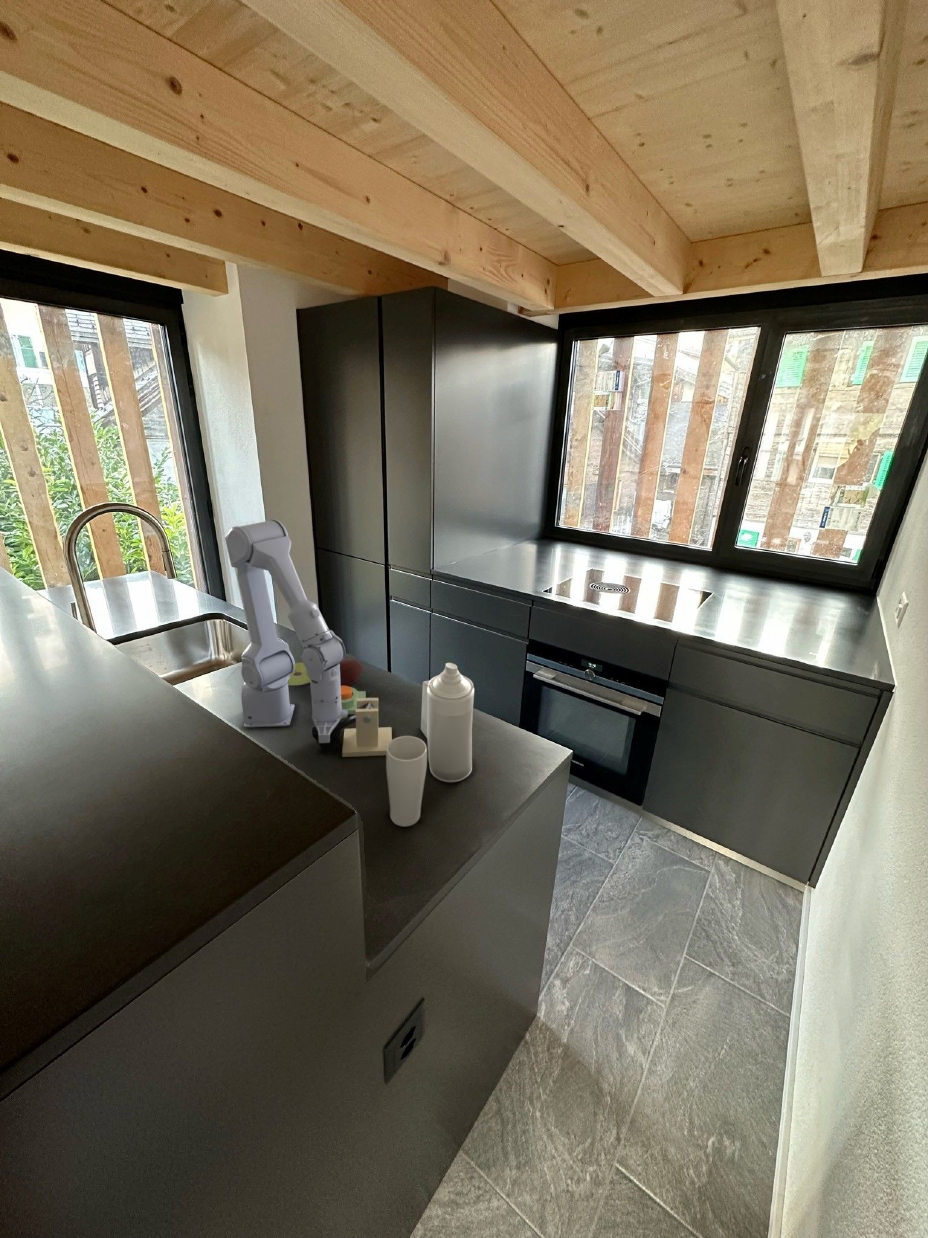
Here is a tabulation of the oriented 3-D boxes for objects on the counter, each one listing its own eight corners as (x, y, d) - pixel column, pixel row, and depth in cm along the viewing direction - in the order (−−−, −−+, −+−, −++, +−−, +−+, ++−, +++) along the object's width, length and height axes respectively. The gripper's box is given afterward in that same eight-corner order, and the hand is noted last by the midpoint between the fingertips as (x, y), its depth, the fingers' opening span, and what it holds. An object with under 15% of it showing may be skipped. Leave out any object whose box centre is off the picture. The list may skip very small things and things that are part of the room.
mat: (314, 665, 137) (314, 659, 136) (326, 685, 128) (326, 679, 127) (270, 674, 132) (269, 667, 131) (279, 695, 123) (279, 688, 122)
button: (333, 700, 118) (333, 694, 117) (335, 691, 121) (334, 685, 121) (351, 700, 118) (351, 694, 118) (352, 690, 122) (352, 685, 121)
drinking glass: (418, 835, 87) (421, 764, 81) (380, 827, 88) (380, 756, 82) (428, 806, 93) (432, 739, 87) (393, 799, 94) (393, 732, 88)
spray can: (484, 786, 99) (495, 673, 89) (431, 797, 95) (436, 681, 85) (463, 749, 109) (471, 644, 99) (414, 758, 105) (417, 650, 95)
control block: (319, 715, 117) (319, 704, 115) (323, 696, 124) (322, 685, 123) (364, 714, 118) (364, 703, 117) (365, 695, 125) (365, 684, 124)
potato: (320, 686, 128) (319, 664, 125) (350, 670, 136) (349, 650, 133) (341, 696, 124) (340, 674, 122) (370, 679, 132) (370, 658, 130)
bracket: (342, 757, 104) (340, 716, 100) (344, 733, 111) (343, 694, 107) (392, 755, 106) (392, 715, 102) (391, 731, 113) (391, 693, 109)
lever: (326, 745, 105) (317, 735, 104) (328, 736, 108) (319, 725, 107) (377, 718, 104) (368, 707, 103) (377, 709, 107) (369, 698, 106)
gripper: (344, 714, 96) (347, 772, 102) (348, 675, 109) (350, 728, 115) (305, 715, 95) (310, 774, 100) (314, 676, 108) (318, 730, 114)
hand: (329, 750), depth 108 cm, fingers open, 3 cm apart
